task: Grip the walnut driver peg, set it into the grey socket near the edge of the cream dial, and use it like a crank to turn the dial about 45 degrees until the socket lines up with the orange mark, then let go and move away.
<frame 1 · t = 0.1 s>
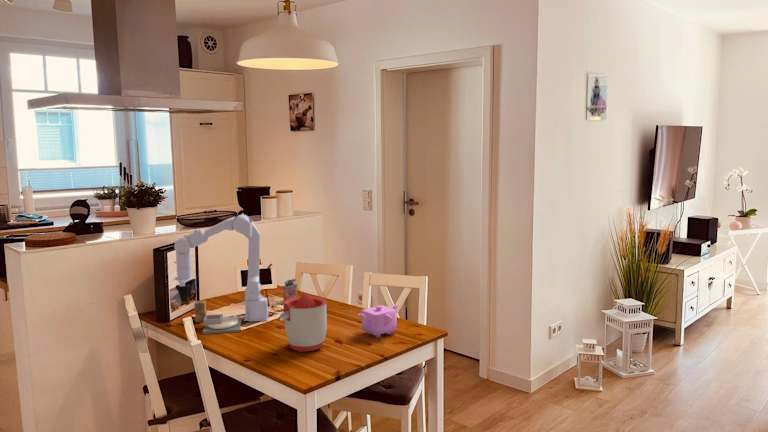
hand: (186, 299, 248), 10 cm above the table, tool pointing down, fingers open, 7 cm apart
dial: (221, 320, 242), point 3 cm above the table, hinge at 0.0°
citrus juicer: (304, 347, 219), on the table
teapot: (379, 333, 233), on the table
driver peg: (201, 320, 251), on the table
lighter: (290, 301, 279), on the table
dial plate: (222, 327, 242), on the table
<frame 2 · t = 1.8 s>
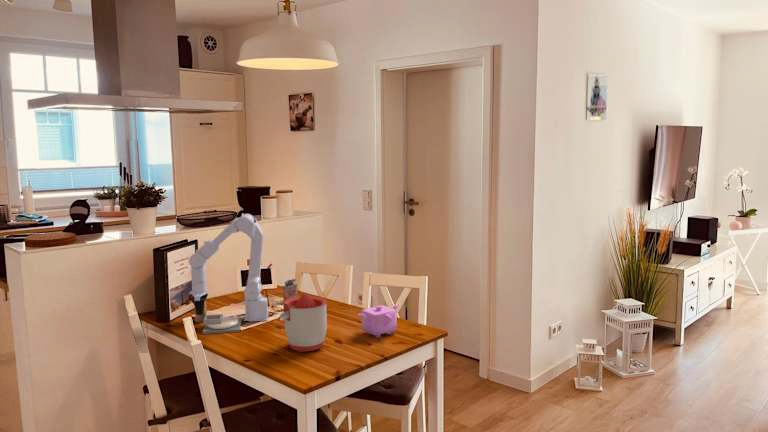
hand: (200, 313, 251), 3 cm above the table, tool pointing down, fingers closed on driver peg, 4 cm apart
driver peg: (201, 320, 251), on the table, touching gripper
everything else where it was.
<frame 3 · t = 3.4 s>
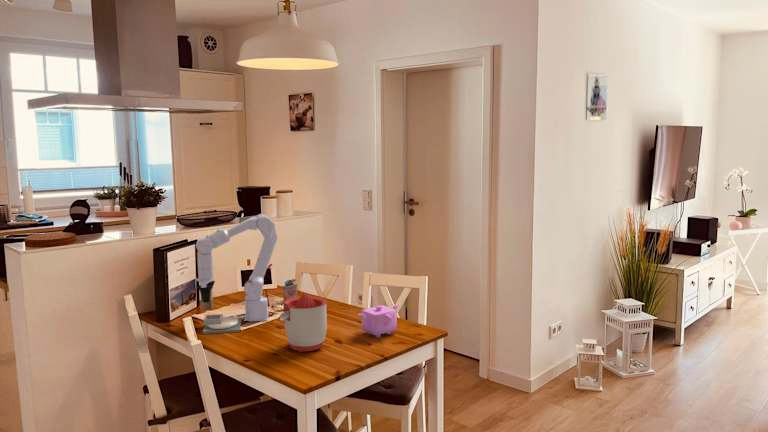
hand: (207, 300, 244), 10 cm above the table, tool pointing down, fingers closed on driver peg, 4 cm apart
driver peg: (207, 308, 245), point 7 cm above the table, touching gripper
everything else where it was.
when the fingers open (6 cm above the table, at t = 5.3 s): driver peg stays where it is, resting on dial.
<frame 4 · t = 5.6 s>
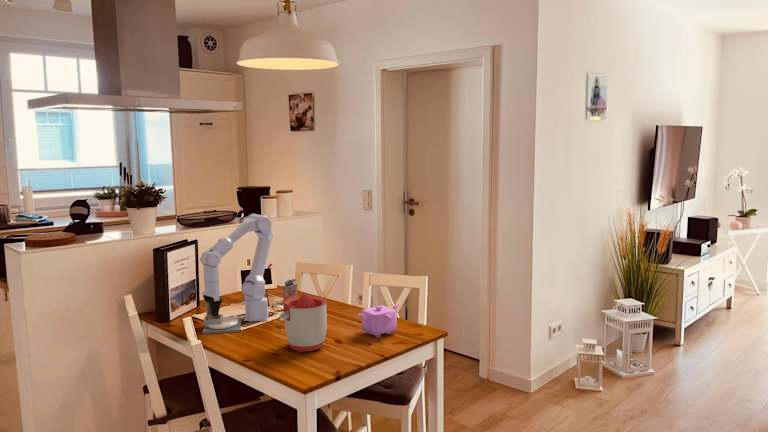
hand: (213, 314, 240), 6 cm above the table, tool pointing down, fingers open, 6 cm apart
dial: (221, 320, 242), point 3 cm above the table, hinge at 1.7°, touching driver peg
driver peg: (212, 321, 241), point 3 cm above the table, touching dial, gripper
everything else where it was.
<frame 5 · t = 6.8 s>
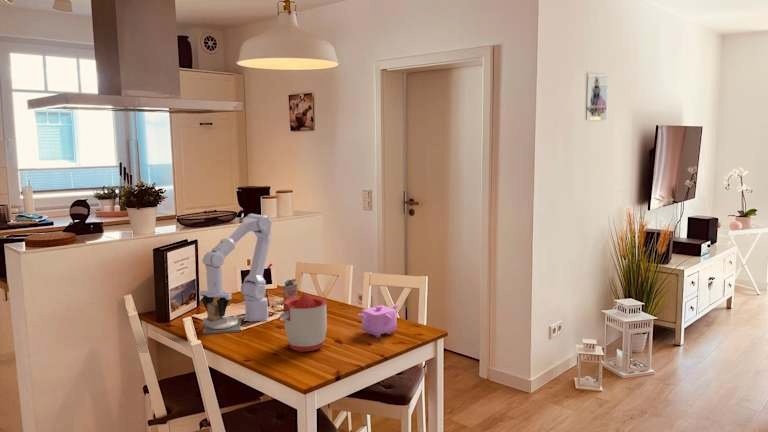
hand: (216, 315, 238), 6 cm above the table, tool pointing down, fingers open, 5 cm apart
dial: (221, 320, 241), point 3 cm above the table, hinge at 38.6°, touching driver peg
driver peg: (215, 322, 239), point 3 cm above the table, touching dial, gripper
everything else where it was.
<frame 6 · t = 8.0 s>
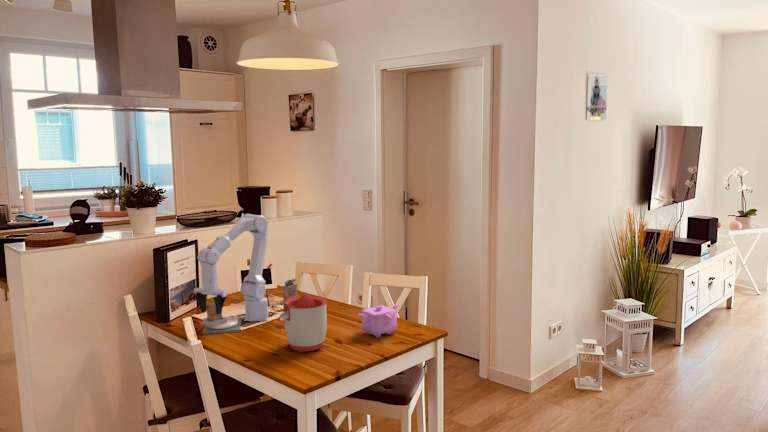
hand: (211, 312, 235), 8 cm above the table, tool pointing down, fingers open, 7 cm apart
driver peg: (215, 323, 239), point 2 cm above the table, touching dial
everything else where it was.
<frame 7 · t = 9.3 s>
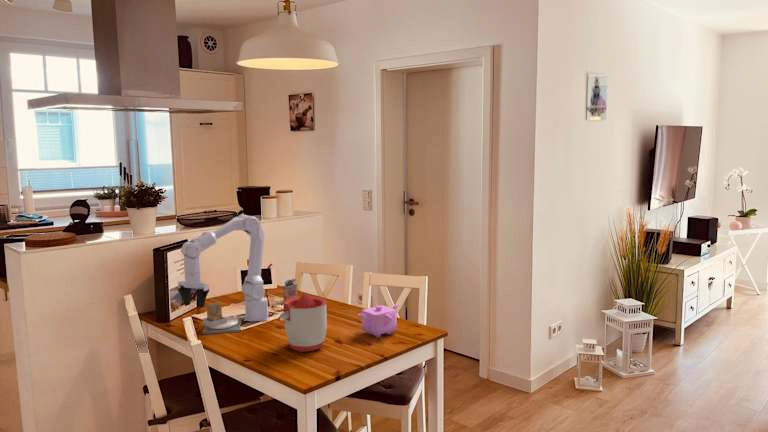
hand: (194, 306, 236), 10 cm above the table, tool pointing down, fingers open, 7 cm apart
nothing on the table moved.
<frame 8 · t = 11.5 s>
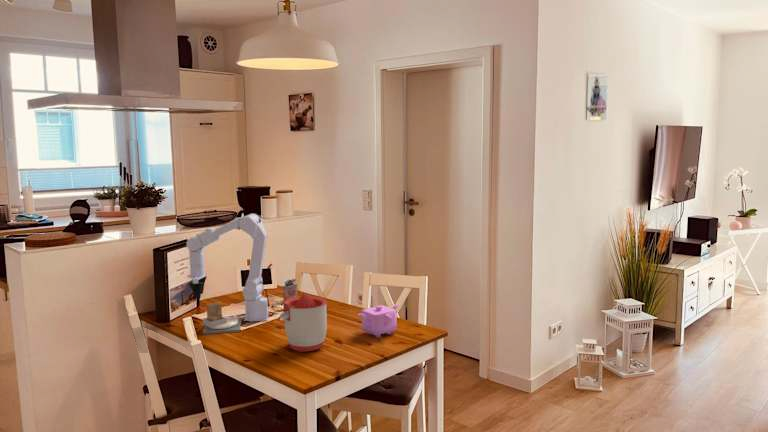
hand: (198, 296, 254), 9 cm above the table, tool pointing down, fingers open, 7 cm apart
nothing on the table moved.
at the end: dial at +39° (first picture: +0°); driver peg 0.1 cm from the target spot on the dial, point 2.5 cm above the dial's base; driver peg tilted 0° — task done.
